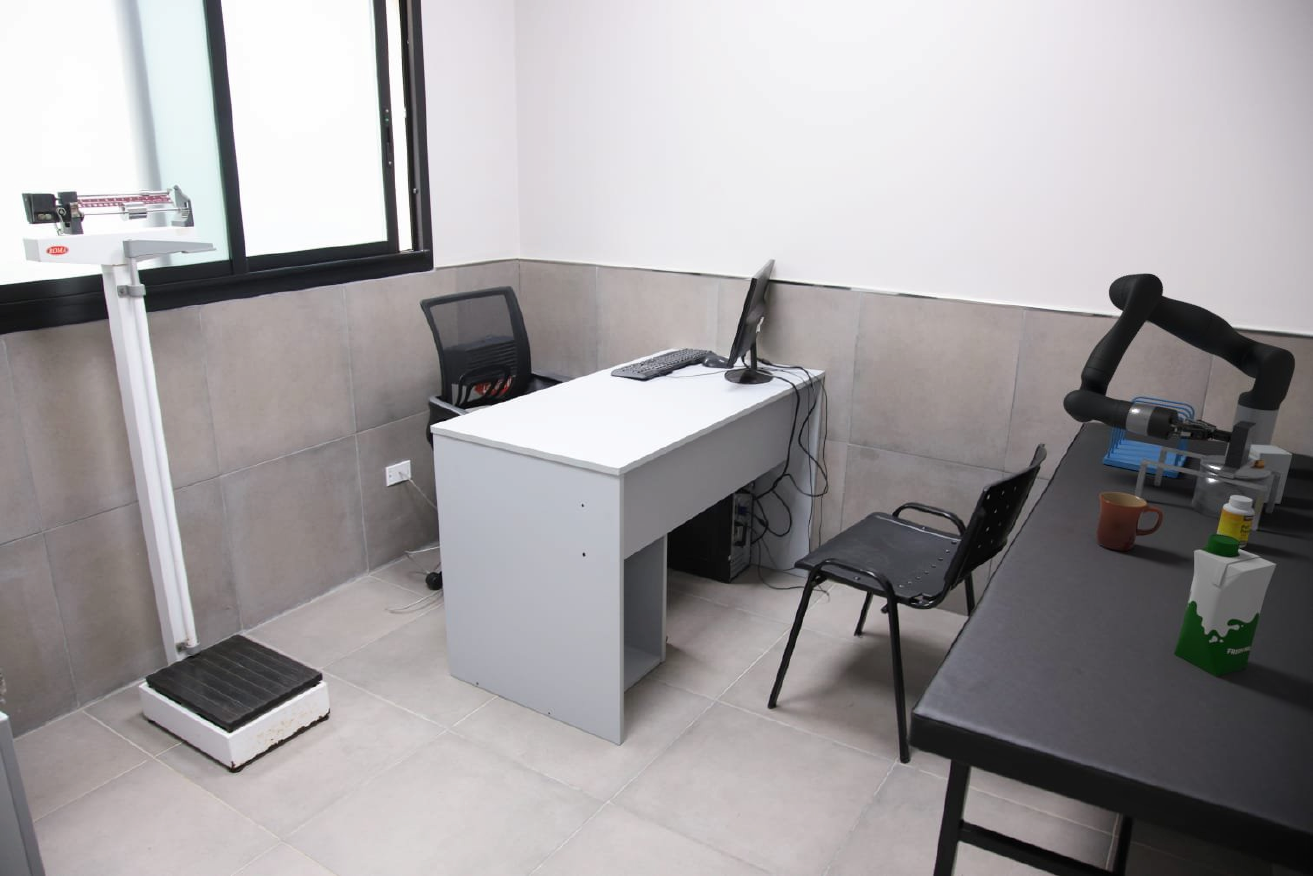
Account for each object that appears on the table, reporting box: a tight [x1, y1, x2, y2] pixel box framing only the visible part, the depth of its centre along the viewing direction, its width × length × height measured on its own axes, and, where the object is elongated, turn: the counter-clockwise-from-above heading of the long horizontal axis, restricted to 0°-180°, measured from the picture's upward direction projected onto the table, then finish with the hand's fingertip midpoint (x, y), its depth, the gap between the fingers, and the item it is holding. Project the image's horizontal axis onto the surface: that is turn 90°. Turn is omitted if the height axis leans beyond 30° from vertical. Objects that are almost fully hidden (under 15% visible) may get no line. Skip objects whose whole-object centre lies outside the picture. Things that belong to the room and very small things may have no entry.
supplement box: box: [1248, 444, 1293, 504], centre depth 210 cm, size 7×7×13 cm
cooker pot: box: [1134, 446, 1282, 532], centre depth 203 cm, size 25×16×10 cm, turn 45°
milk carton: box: [1173, 533, 1277, 677], centre depth 134 cm, size 9×9×20 cm
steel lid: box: [1199, 420, 1271, 480], centre depth 197 cm, size 14×16×11 cm
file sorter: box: [1102, 395, 1196, 479], centre depth 236 cm, size 25×17×15 cm
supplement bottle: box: [1216, 495, 1254, 549], centre depth 182 cm, size 6×6×10 cm
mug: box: [1095, 491, 1164, 552], centre depth 178 cm, size 12×9×10 cm
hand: (1233, 438), depth 198 cm, fingers closed
